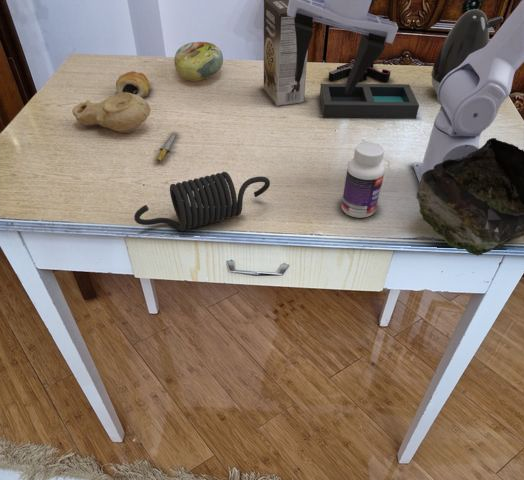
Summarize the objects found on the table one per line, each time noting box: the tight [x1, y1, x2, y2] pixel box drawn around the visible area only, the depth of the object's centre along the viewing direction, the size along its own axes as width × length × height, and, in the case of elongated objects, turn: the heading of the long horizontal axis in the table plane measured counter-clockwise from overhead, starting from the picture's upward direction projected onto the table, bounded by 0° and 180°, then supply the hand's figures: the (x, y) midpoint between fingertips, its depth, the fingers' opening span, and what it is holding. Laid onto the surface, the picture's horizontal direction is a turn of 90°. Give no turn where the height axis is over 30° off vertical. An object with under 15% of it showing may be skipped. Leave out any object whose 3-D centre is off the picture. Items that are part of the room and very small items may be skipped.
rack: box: [319, 82, 420, 119], centre depth 94 cm, size 10×18×2 cm, turn 89°
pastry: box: [115, 70, 150, 98], centre depth 97 cm, size 9×7×4 cm
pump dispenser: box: [430, 8, 504, 95], centre depth 92 cm, size 10×10×15 cm
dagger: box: [156, 134, 176, 163], centre depth 83 cm, size 11×1×2 cm
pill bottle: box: [341, 141, 386, 219], centre depth 68 cm, size 5×5×10 cm
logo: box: [328, 60, 391, 83], centre depth 103 cm, size 13×2×10 cm
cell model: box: [173, 41, 224, 82], centre depth 103 cm, size 11×8×15 cm
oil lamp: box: [71, 92, 152, 134], centre depth 86 cm, size 11×14×5 cm
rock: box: [415, 137, 524, 257], centre depth 65 cm, size 18×20×10 cm
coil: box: [133, 171, 271, 232], centre depth 67 cm, size 7×20×9 cm
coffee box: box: [263, 0, 309, 107], centre depth 92 cm, size 9×6×16 cm
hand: (322, 85), depth 66 cm, fingers open, 7 cm apart
